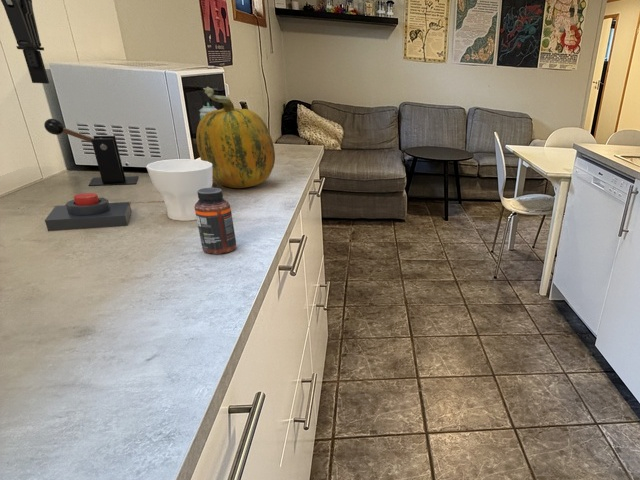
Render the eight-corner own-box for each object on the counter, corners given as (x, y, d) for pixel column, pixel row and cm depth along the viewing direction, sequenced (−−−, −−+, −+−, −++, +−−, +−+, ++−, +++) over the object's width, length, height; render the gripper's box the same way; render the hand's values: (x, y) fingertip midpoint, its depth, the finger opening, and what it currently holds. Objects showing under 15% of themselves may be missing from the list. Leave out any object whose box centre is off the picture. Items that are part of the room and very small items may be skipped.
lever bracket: (89, 189, 116) (75, 140, 111) (94, 182, 123) (81, 134, 117) (137, 187, 121) (125, 140, 115) (139, 180, 127) (128, 134, 121)
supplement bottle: (238, 242, 92) (229, 185, 87) (236, 254, 88) (227, 194, 82) (204, 244, 91) (193, 186, 85) (200, 256, 86) (188, 194, 80)
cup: (184, 204, 111) (175, 156, 106) (232, 211, 109) (224, 162, 104) (143, 219, 100) (131, 167, 95) (195, 227, 99) (185, 174, 93)
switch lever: (40, 131, 109) (44, 116, 108) (44, 129, 112) (48, 114, 111) (109, 155, 117) (113, 141, 116) (110, 152, 120) (114, 139, 119)
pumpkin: (197, 194, 119) (177, 86, 108) (212, 176, 136) (197, 81, 124) (274, 194, 124) (264, 91, 112) (280, 177, 140) (271, 85, 129)
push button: (74, 207, 94) (71, 198, 93) (77, 201, 97) (75, 193, 96) (98, 206, 95) (96, 197, 94) (101, 200, 98) (98, 192, 98)
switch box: (48, 231, 91) (41, 211, 89) (58, 215, 99) (52, 197, 97) (127, 225, 97) (122, 206, 95) (131, 211, 104) (127, 193, 102)
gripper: (17, -47, 91) (54, 86, 102) (35, -39, 101) (67, 81, 112) (-34, -54, 88) (10, 84, 99) (-10, -45, 98) (27, 79, 109)
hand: (40, 82), depth 105 cm, fingers closed
